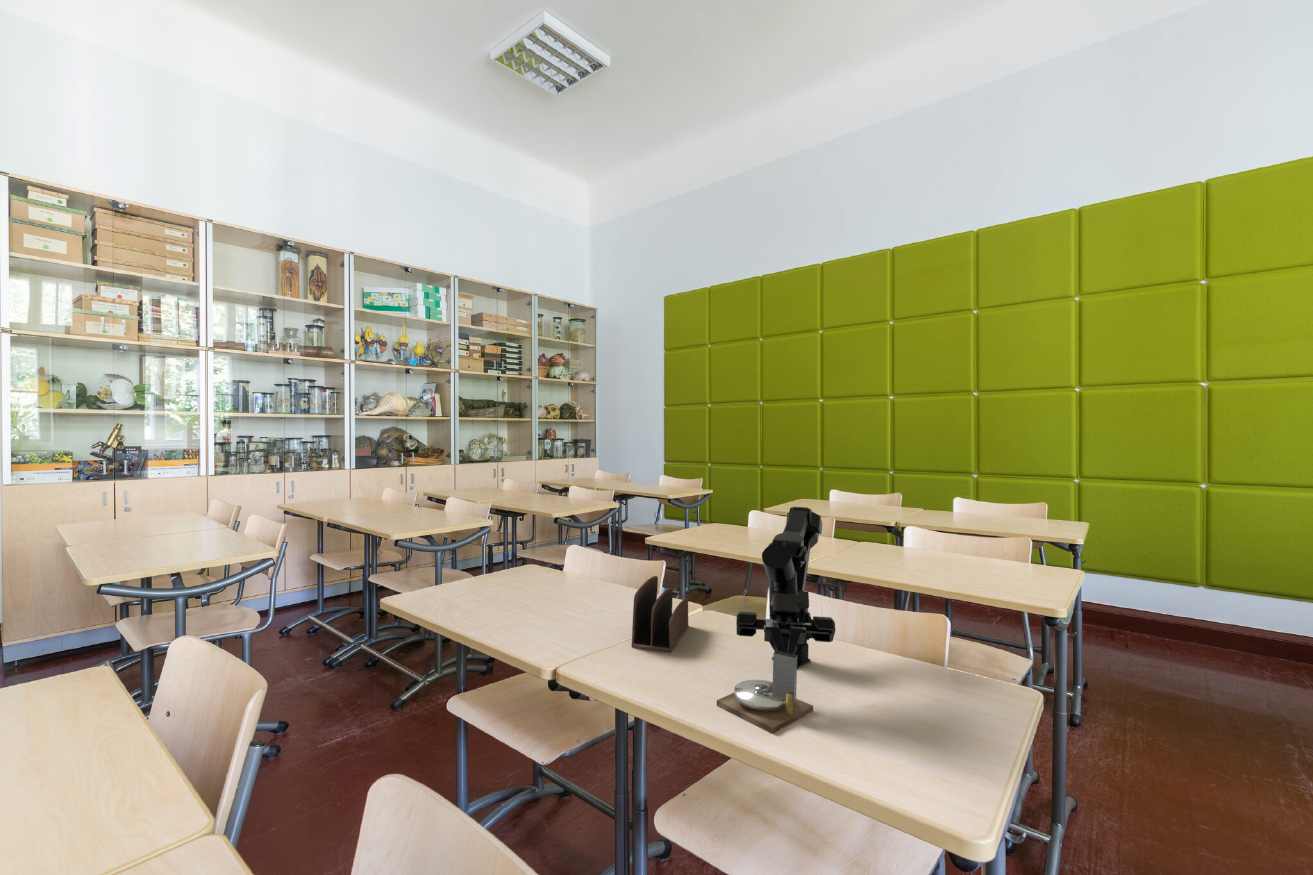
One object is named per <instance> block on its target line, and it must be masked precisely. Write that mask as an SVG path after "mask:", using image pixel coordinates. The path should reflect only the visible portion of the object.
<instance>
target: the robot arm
mask: <svg viewBox="0 0 1313 875" xmlns="http://www.w3.org/2000/svg"><path fill="white" fill-rule="evenodd" d="M785 521H786V522H785V527H784V529H783V532H781V533H779V534H776V535H774V537H773V539H772V542H770V543H769V544H768V546H767V547H766V548H764V550H763V551H762V553H761V558H762V559H761V560H762V563H763V566H764V570H765V573H766V577H767V578H768V588H769V589H768V593H769V594H768V599H769V600H768V602H769V604H768V606H769V608H768V610H769V618H765V619H758V618H757V616H758V615H757V612H756V611H755V612H753V611H738V612H737V614H736V621H735V622H736V624H735V626H736V635H737V636H738V637H750V638H751V637H754V636H755V635H756V634H757V630H760V631H762V630H763V633H764V636H763V640H764V642H766V643H769V644H770V646H771V648H772V650H773V651H774V652H775V651H781V652H785V653H790V654H794V655H797V668H800V667H802V666H804V665H806V664H808V663H810V662H811V660H812V659H811V658H809V648H810V647H809V646H810V645H809V643H808V641H809V640H810V639H813V640H814V641H815V642H820V643H822V642H823V643H831V642H833V640H834V638H835V635H836V622H835V620H834V619H833V618H832V617H831V616H830V617H829V616H816V615H815V616H811V613H810V612H809V608H810V597H809V591H805V590H806V582H807V577H808V576H807V575H808V568H809V561H810V554H811V549H812V548H813V547H814V546H815V545H817V544H818V542H819V537H820V535H822V534H823V520H822V517H821V515H819V514H818V513H816V512H814V511H812V508H809V507H808V506H807V507H805V506H792V507H790V508H789V511H788V512H787V513H786V520H785ZM774 652H773V653H774ZM771 660H772V661H773V656H772V657H771Z"/></svg>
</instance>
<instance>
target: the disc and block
mask: <svg viewBox="0 0 1313 875" xmlns="http://www.w3.org/2000/svg"><path fill="white" fill-rule="evenodd" d="M772 654H773V655H772V657H773V660H772V681H770V680H764V679H748V680H747V679H746V680H744V681H743V680H742V681H739V682H738V683H736V685H735V686H734V690H733V693H734V696H735V699H736V700H737V701H738V702H739V703H740V704H742V705H744V706H746V707H749V708H752V709H756V710H765V711H771V710H778V709H781V708H783V707H785V706H786V694H787V693H791V694H793V702H794V701H795V700H796V699H797V683H798V681H797V680H798V667H797V655H794V654H790V653H785V652H781V651H775V652H773V653H772Z"/></svg>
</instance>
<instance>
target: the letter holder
mask: <svg viewBox="0 0 1313 875" xmlns="http://www.w3.org/2000/svg"><path fill="white" fill-rule="evenodd" d="M658 584H659V578H658V576H657V575H654V576H651V577H650V578H648V579H646V581H644V583H642V585H641V586H640V587H639V588H638V589H637V590H636V592H635V594H634V597H633V608H632V609H633V610H632V627H631V628H632V629H631V634H632V635H631V648H633V649H640V650H649V651H656V652H662V653H663V652H664V653H672V651H673V649H674V648H675V647H676V645H677V643H678V642H679V640H680V639H681V638H682V636H683V634H684V633H685V632H686V630H687V629H688V627H689V598H686V597H685V598H683V599H682V600H681V601H680V602H679V603H678V605H676V607H675V609H674V610H673V600H674V599H673V598H674V597H673V593H674V592H673V587H669V588H667V589H666V590H664V591H663V592H662V593H661V594H660V595H659V596H658V588H659V585H658Z"/></svg>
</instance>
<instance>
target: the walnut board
mask: <svg viewBox="0 0 1313 875" xmlns="http://www.w3.org/2000/svg"><path fill="white" fill-rule="evenodd" d="M716 706H717V707H719V708H721V709H723V710H724V711H726V712H728V713H731V714H733V715H734V716H737V717H738V718H740V719H743V720H744V721H746V722H748V723H750V724H752V725H754V726H756V727H758V728H760V729H762V730H764V731H766V732H768V733H770V734H775V733H776V732H778V731H780V730H782V729H784V728H785V727H788V726H789V725H791V724H793V723H795V722H797V721H799V720H800V719H803V718H804V717H806V716H808V715H809V714H811V713H812V712H814V705H812V704H810V703H808V702H805V701H803V700H801V699H799V698H796V700H795V701H794V702H793V694H791V693H787V694H786V706H785V707H783V708H781V709H778V710H771V711H765V710H756V709H752V708H749V707H746V706H744V705H742V704H740V703H739V702H738V701H737V700H736V699H735V696H734V692H731V694H727V695H725V696H723V697H721V698H718V699H716Z"/></svg>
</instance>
